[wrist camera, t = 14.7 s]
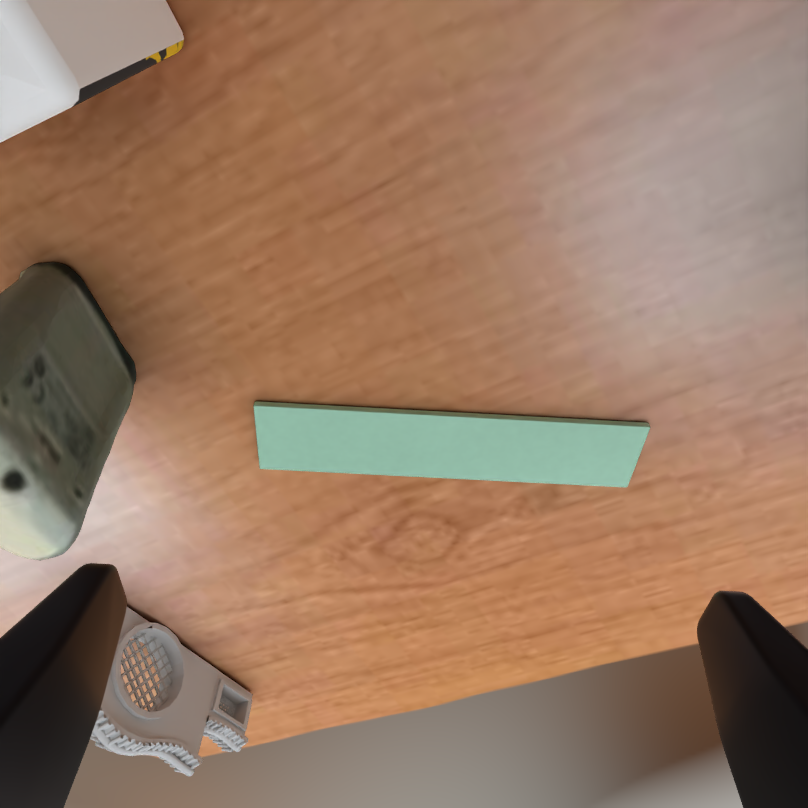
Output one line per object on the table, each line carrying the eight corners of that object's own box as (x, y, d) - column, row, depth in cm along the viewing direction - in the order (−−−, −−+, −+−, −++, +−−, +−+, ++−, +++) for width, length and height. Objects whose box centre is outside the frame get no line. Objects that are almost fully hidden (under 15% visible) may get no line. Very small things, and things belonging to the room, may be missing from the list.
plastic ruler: (648, 422, 24) (651, 427, 24) (625, 482, 26) (627, 487, 26) (254, 400, 24) (253, 405, 23) (260, 464, 25) (259, 469, 25)
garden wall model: (259, 692, 36) (237, 807, 31) (235, 700, 37) (210, 815, 32) (99, 579, 30) (41, 701, 25) (73, 591, 30) (12, 712, 26)
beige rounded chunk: (202, 339, 22) (117, 507, 16) (127, 423, 24) (27, 600, 18) (44, 230, 20) (-131, 374, 13) (-22, 334, 22) (-199, 500, 15)
